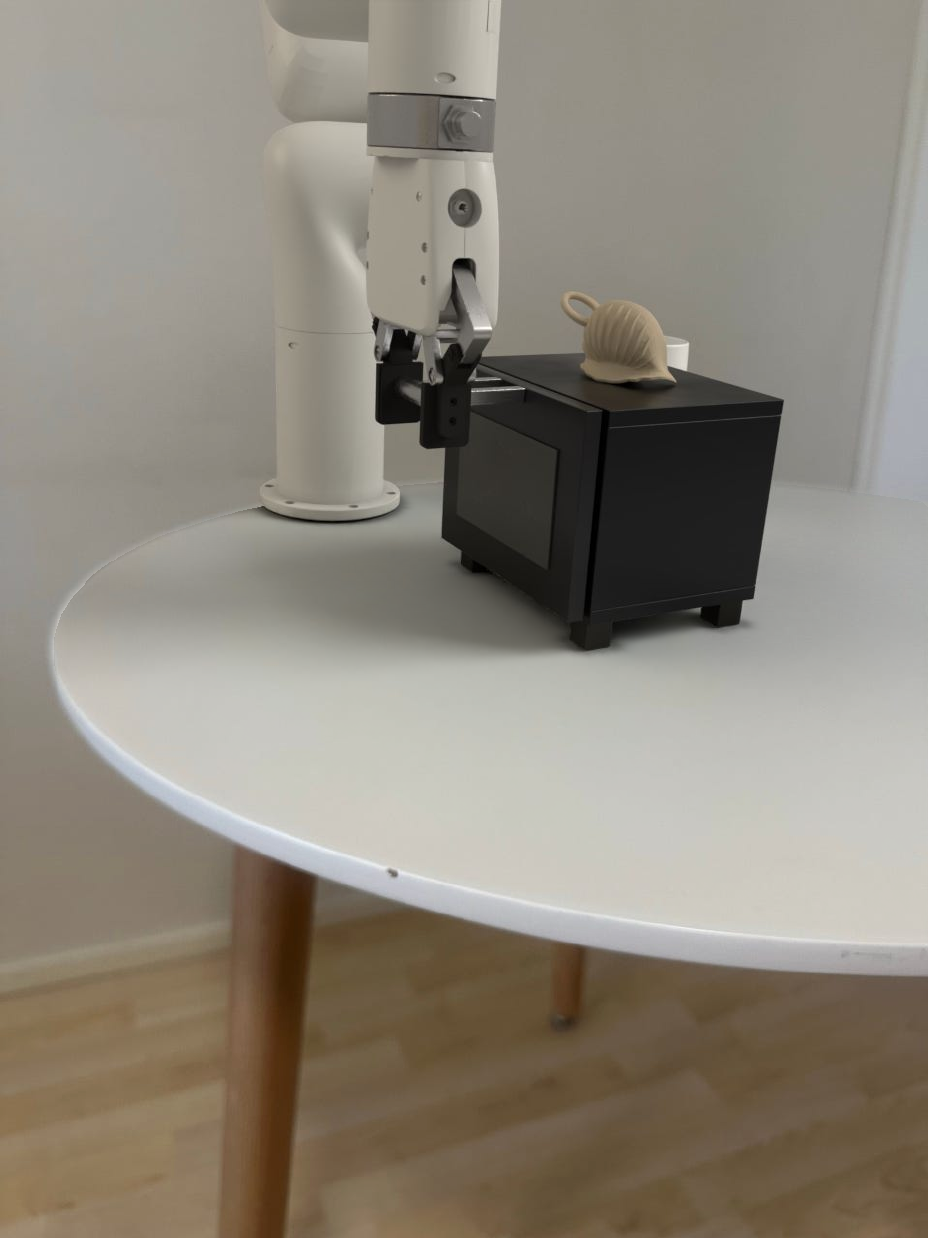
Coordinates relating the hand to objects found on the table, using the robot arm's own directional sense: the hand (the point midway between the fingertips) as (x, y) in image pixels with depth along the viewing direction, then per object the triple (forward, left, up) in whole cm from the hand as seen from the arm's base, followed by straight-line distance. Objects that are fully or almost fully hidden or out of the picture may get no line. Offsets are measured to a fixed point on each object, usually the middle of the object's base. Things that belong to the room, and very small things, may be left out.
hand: (420, 431), depth 75 cm
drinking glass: (-20, +33, -13) cm, 41 cm away
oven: (0, +15, -13) cm, 20 cm away
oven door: (0, +4, -11) cm, 11 cm away
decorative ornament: (0, +15, +3) cm, 15 cm away
